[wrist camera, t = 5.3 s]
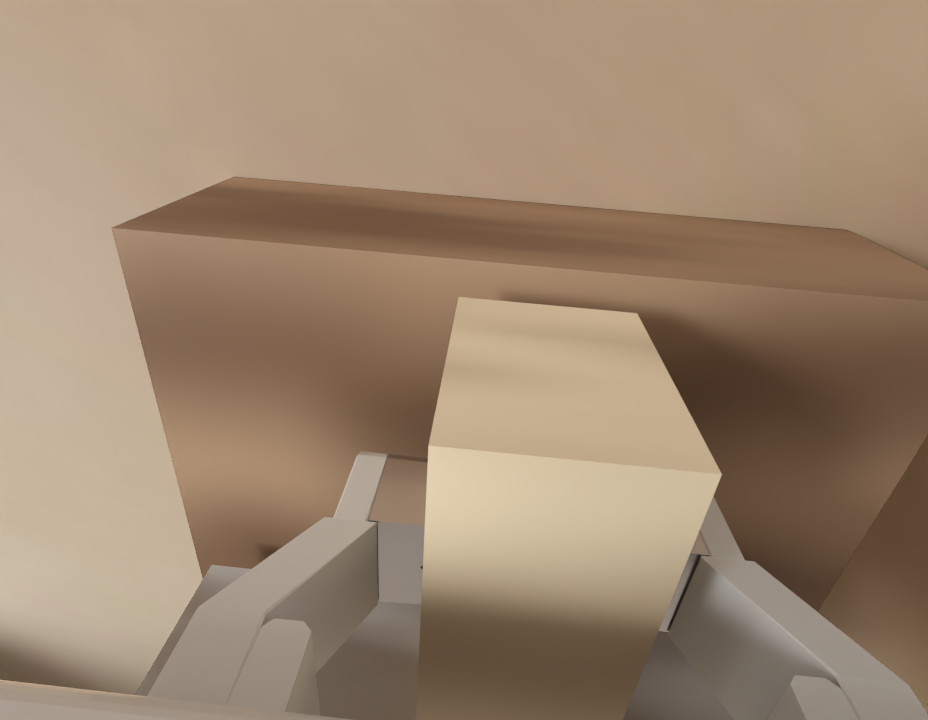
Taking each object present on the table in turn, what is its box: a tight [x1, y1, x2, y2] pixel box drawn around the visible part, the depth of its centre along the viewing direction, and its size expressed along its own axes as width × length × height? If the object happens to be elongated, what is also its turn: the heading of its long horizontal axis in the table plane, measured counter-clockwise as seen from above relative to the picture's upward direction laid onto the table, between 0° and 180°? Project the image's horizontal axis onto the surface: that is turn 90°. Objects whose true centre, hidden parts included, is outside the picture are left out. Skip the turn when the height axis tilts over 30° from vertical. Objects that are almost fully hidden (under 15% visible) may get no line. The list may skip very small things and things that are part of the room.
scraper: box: [135, 297, 734, 720], centre depth 9 cm, size 9×14×4 cm, turn 86°
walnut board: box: [112, 177, 928, 611], centre depth 16 cm, size 18×16×5 cm
